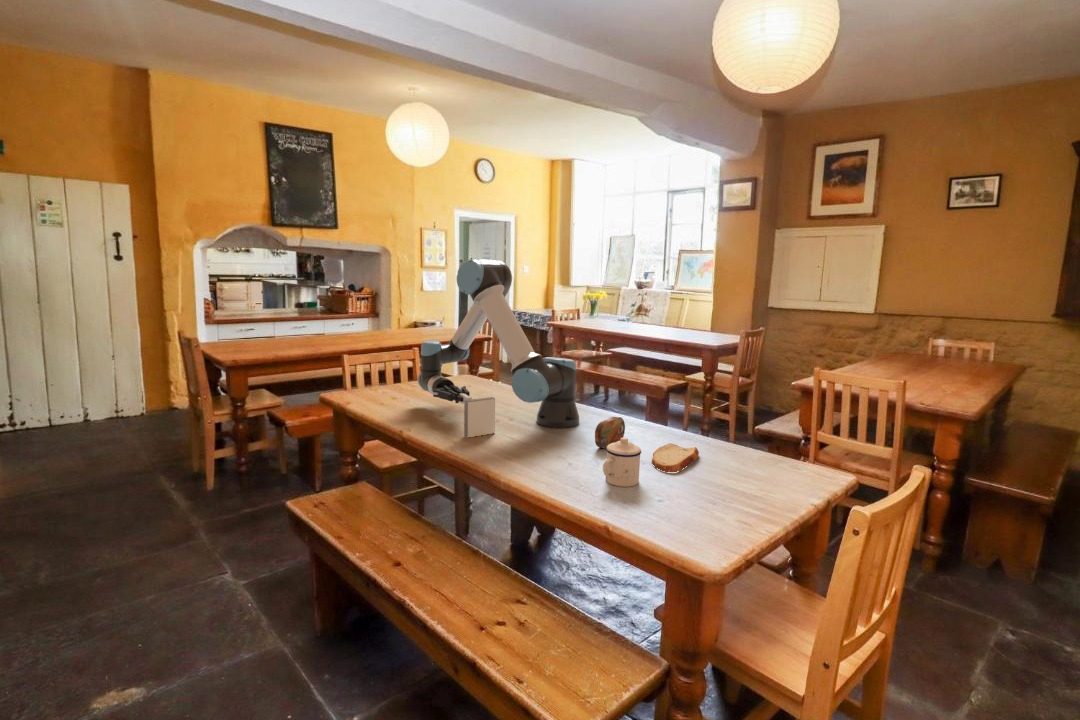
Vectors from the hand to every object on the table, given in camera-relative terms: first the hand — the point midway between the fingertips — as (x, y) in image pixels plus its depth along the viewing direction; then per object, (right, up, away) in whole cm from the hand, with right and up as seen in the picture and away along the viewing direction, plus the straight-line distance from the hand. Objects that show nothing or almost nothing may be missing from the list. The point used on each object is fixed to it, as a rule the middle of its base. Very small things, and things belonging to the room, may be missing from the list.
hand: (469, 401), depth 187 cm
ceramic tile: (+4, -11, -4) cm, 12 cm away
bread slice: (+63, -16, -24) cm, 69 cm away
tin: (+45, -13, -11) cm, 48 cm away
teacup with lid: (+44, -18, -41) cm, 63 cm away
